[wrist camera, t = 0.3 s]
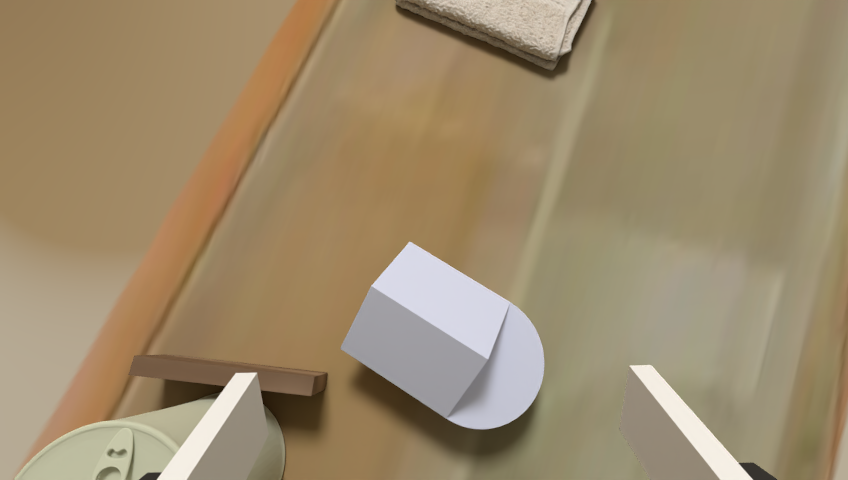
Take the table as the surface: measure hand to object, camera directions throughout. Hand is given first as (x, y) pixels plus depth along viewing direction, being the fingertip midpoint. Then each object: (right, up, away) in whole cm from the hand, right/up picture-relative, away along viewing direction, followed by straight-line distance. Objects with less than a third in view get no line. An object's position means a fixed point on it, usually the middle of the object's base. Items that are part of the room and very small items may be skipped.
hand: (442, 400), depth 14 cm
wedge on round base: (+1, -2, +17) cm, 17 cm away
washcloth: (+7, +30, +26) cm, 40 cm away
